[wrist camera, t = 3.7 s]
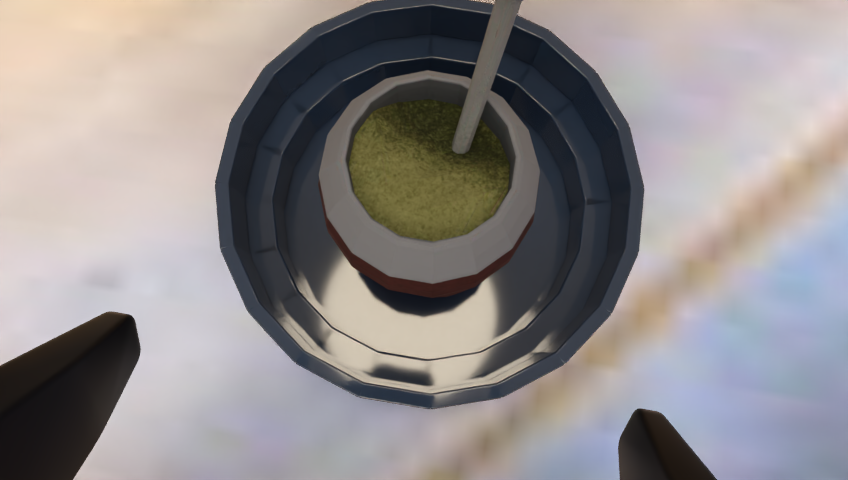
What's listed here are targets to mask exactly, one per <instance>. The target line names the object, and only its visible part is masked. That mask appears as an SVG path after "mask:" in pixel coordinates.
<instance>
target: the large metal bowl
mask: <svg viewBox="0 0 848 480" xmlns="http://www.w3.org/2000/svg"><path fill="white" fill-rule="evenodd" d="M493 6H494V4H491V3H484V2H478V1H472V0H380V1H372V2H370V3H369V2H368V3H366V4H364V5H361V6H359V7H357V8H354V9H352V10H350V11H347V12H345V13H343V14H340V15H338V16H336V17H334V18H331V19H329V20H327V21H324V22H322V23H320V24H317V25H315V26H313V28H310V29H309V30H308V31H307V32H305V33H304V34H303V35H302V36H301V37H299V38H298V39H297V40H296V41H295V42H294V43H292V44H291V45H290V46H289V47H288V48H286V49H285V50H284V51H283V52H282V53H281V54H279V55H278V56H277V57H276V58H275V59H273V60H272V61H271V62H270V63H269V64H268V65H266V66H265V68H264V69H263V70H262V72H261V73H260V75H259V76H258V78H257V80H256V81H255V83H254V84H253V86H252V88H251V89H250V91H249V92H248V94H247V95H246V97H245V99H244V100H243V102H242V103H241V105H240V107H239V108H238V110H237V111H236V113H235V114H234V116H233V118H232V119H231V122H230V125H229V129H228V133H227V137H226V141H225V145H224V149H223V153H222V157H221V161H220V165H219V169H218V173H217V177H216V181H215V183H216V184H215V192H216V205H217V217H218V229H219V241H220V249H221V252H222V255H223V257H224V259H225V262H226V264H227V266H228V268H229V271H230V273H231V275H232V277H233V280H234V282H235V284H236V287H237V289H238V291H239V293H240V296H241V298H242V300H243V303H244V305H245V307H246V309H247V311H248V312H249V314H250V315H251V316H252V317H253V318H254V319H255V320H256V321H257V323H258V324H259V325H260V326H261V327H262V328H263V329H264V330H265V331H266V332H267V333H268V334H269V335H270V337H271V338H272V339H273V340H274V341H275V342H276V343H277V344H278V345H279V346H280V347H281V348H282V350H283V351H284V352H285V353H286V354H287V355H288V356H289V357H290V358H291V359H292V360H293V361H294V362H296V364H297V365H299V366H301V367H303V368H305V369H307V370H309V371H310V372H312V373H314V374H316V375H318V376H320V377H322V378H323V379H325V380H327V381H329V382H331V383H333V384H335V385H336V386H338V387H340V388H342V389H344V390H346V391H348V392H349V393H351V394H353V395H355V396H357V397H360V398H365V399H371V400H377V401H383V402H389V403H395V404H401V405H407V406H413V407H418V408H424V409H430V408H431V409H437V408H443V407H449V406H455V405H461V404H468V403H474V402H480V401H486V400H492V399H498V398H501V397H505V396H507V395H508V394H510V393H512V392H514V391H516V390H518V389H520V388H522V387H523V386H525V385H527V384H529V383H531V382H533V381H535V380H537V379H538V378H540V377H542V376H544V375H546V374H548V373H550V372H552V371H553V370H555V369H557V368H559V367H561V366H563V365H564V364H565V363H567V361H568V360H569V359H570V358H571V357H572V356H573V355H574V354H575V353H576V352H577V351H578V350H579V349H580V348H581V346H582V345H583V344H584V343H585V342H586V341H587V340H588V339H589V338H590V337H591V336H592V335H593V334H594V332H595V331H596V330H597V329H598V328H599V327H600V326H601V325H602V324H603V323H604V322H605V321H606V320H607V319H608V317H609V316H610V315H611V313H612V312H613V310H614V308H615V305H616V303H617V301H618V298H619V296H620V294H621V292H622V289H623V287H624V285H625V283H626V280H627V278H628V276H629V274H630V271H631V269H632V267H633V265H634V262H635V260H636V258H637V256H638V252H639V244H640V232H641V221H642V209H643V197H644V185H643V181H642V176H641V172H640V168H639V164H638V160H637V156H636V151H635V147H634V143H633V139H632V135H631V131H630V127H629V125H628V123H627V121H626V119H625V118H624V116H623V115H622V113H621V111H620V110H619V108H618V106H617V105H616V103H615V101H614V100H613V98H612V96H611V95H610V93H609V92H608V90H607V88H606V87H605V85H604V83H603V82H602V80H601V78H600V77H599V75H598V74H597V73H596V71H595V70H594V69H593V68H592V67H590V66H589V65H588V64H587V63H586V62H585V61H584V60H583V59H581V58H580V57H579V56H578V55H577V54H576V53H575V52H574V51H572V50H571V49H570V48H569V47H568V46H567V45H566V44H565V43H563V42H562V41H561V40H560V39H559V38H558V37H557V36H555V35H554V34H553V33H552V32H551V31H549V30H548V29H546V28H544V27H541V26H539V25H537V24H535V23H533V22H531V21H529V20H526V19H524V18H522V17H520V16H518V15H516V18H515V21H514V24H513V27H512V30H511V32H510V35H509V38H508V41H507V44H506V47H505V49H504V52H503V55H502V58H501V61H500V64H499V67H498V69H497V72H496V75H495V78H494V81H493V84H492V86H491V89H490V90H491V91H492V92H494V93H496V94H497V95H499V96H501V97H503V98H504V100H505V101H506V102H507V103H508V105H509V106H510V107H511V108H512V110H513V111H514V112H515V114H516V115H517V116H518V117H519V119H520V120H521V121H522V122H523V124H524V125H525V126H526V128H527V129H528V130H529V133H530V137H531V141H532V144H533V148H534V151H535V155H536V158H537V162H538V166H539V169H540V175H539V184H538V192H537V199H536V206H535V213H534V221H533V223H532V225H531V227H530V228H529V230H528V232H527V233H526V235H525V237H524V238H523V240H522V241H521V243H520V245H519V246H518V248H517V250H516V251H515V253H514V255H513V256H512V258H511V259H510V261H509V262H508V263H507V264H506V265H504V266H503V267H502V268H500V269H499V270H497V271H496V272H495V273H493V274H492V275H491V276H489V277H488V278H487V279H485V280H484V281H482V282H481V283H480V284H478V285H477V286H476V287H474V288H471V289H468V290H465V291H463V292H460V293H457V294H455V295H452V296H448V297H436V298H430V297H424V296H419V295H414V294H408V293H403V292H397V291H392V290H388V289H386V288H385V287H383V286H382V285H380V284H378V283H377V282H375V281H374V280H372V279H371V278H369V277H367V276H366V275H364V274H363V273H361V272H360V271H358V270H356V269H355V268H353V267H352V266H351V265H350V263H349V262H348V260H347V259H346V257H345V256H344V254H343V253H342V252H341V250H340V249H339V247H338V246H337V244H336V243H335V241H334V240H333V238H332V237H331V236H330V234H329V233H328V230H327V227H326V222H325V217H324V212H323V207H322V202H321V197H320V192H319V187H318V182H319V171H320V167H321V162H322V157H323V153H324V148H325V144H326V139H327V135H328V133H329V132H330V130H331V129H332V128H333V126H334V125H335V123H336V122H337V121H338V119H339V118H340V116H341V115H342V114H343V112H344V111H345V109H346V108H347V107H348V105H349V104H350V102H351V101H352V100H353V99H355V98H356V97H358V96H360V95H361V94H363V93H364V92H366V91H367V90H369V89H371V88H372V87H374V86H375V85H377V84H378V83H380V82H382V81H383V80H385V79H386V78H391V77H396V76H401V75H406V74H411V73H416V72H421V71H426V70H429V71H435V72H440V73H446V74H452V75H458V76H464V77H468V78H470V79H472V77H473V73H474V70H475V67H476V63H477V60H478V57H479V53H480V50H481V47H482V43H483V40H484V37H485V33H486V30H487V27H488V23H489V20H490V17H491V13H492V10H493Z"/></svg>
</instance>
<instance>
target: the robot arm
mask: <svg viewBox="0 0 848 480" xmlns="http://www.w3.org/2000/svg"><path fill="white" fill-rule="evenodd" d="M139 356H140V343H139V338H138V333H137V328H136V323H135V320H134V318H133V317H132V316H131V315H128V314H123V313H118V312H106V313H104V314H102V315H100V316H98V317H96V318H94V319H92V320H90V321H88V322H86V323H84V324H82V325H80V326H78V327H76V328H74V329H72V330H70V331H68V332H66V333H64V334H62V335H60V336H58V337H56V338H54V339H52V340H50V341H48V342H46V343H44V344H42V345H40V346H38V347H36V348H34V349H32V350H30V351H28V352H26V353H24V354H22V355H20V356H18V357H16V358H14V359H12V360H10V361H8V362H6V363H4V364H2V365H1V366H0V480H73V479H74V477H75V475H76V474H77V472H78V471H79V469H80V468H81V466H82V464H83V463H84V461H85V460H86V458H87V457H88V455H89V454H90V452H91V450H92V449H93V447H94V445H95V444H96V442H97V440H98V439H99V437H100V435H101V433H102V432H103V430H104V428H105V426H106V424H107V422H108V420H109V418H110V416H111V414H112V412H113V410H114V408H115V406H116V404H117V402H118V400H119V398H120V396H121V394H122V392H123V390H124V388H125V386H126V384H127V382H128V380H129V378H130V376H131V374H132V372H133V370H134V368H135V366H136V364H137V362H138V359H139ZM618 454H619V471H620V480H717V479H716V478H715V477H714V475H713V474H712V473H711V472H710V471H709V469H708V468H707V467H706V466H705V465H704V463H703V462H702V461H701V460H700V459H699V457H698V456H697V455H696V454H695V452H694V451H693V450H692V449H691V448H690V446H689V445H688V444H687V443H686V442H685V440H684V439H683V438H682V437H681V436H680V434H679V433H678V432H677V431H676V429H675V428H674V427H673V426H672V425H671V423H670V422H669V421H668V420H667V419H666V417H665V416H664V415H663V414H661V413H660V412H657V411H652V410H646V409H637V410H635V411H634V412H633V414H632V416H631V418H630V420H629V421H628V423H627V425H626V427H625V429H624V431H623V433H622V434H621V437H620V440H619V446H618Z"/></svg>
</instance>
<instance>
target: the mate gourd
mask: <svg viewBox="0 0 848 480" xmlns="http://www.w3.org/2000/svg"><path fill="white" fill-rule="evenodd" d="M521 1H523V0H495V3H494V6H493V10H492V13H491V17H490V20H489V23H488V27H487V30H486V33H485V37H484V40H483V43H482V47H481V50H480V53H479V57H478V60H477V63H476V67H475V70H474V73H473V77H472V79H470V78H468V77H464V76H458V75H452V74H446V73H440V72H435V71H429V70H426V71H421V72H416V73H411V74H406V75H401V76H396V77H391V78H386V79H385V80H383V81H382V82H380V83H378V84H377V85H375V86H374V87H372V88H371V89H369V90H367V91H366V92H364V93H363V94H361V95H360V96H358V97H356V98H355V99H353V100H352V101H351V102H350V104H349V105H348V107H347V108H346V109H345V111H344V112H343V114H342V115H341V116H340V118H339V119H338V121H337V122H336V123H335V125H334V126H333V128H332V129H331V130H330V132H329V133H328V135H327V139H326V144H325V148H324V153H323V157H322V162H321V167H320V171H319V182H318V187H319V192H320V197H321V202H322V207H323V212H324V217H325V222H326V227H327V230H328V233H329V234H330V236H331V237H332V238H333V240H334V241H335V243H336V244H337V246H338V247H339V249H340V250H341V252H342V253H343V254H344V256H345V257H346V259H347V260H348V262H349V263H350V265H351V266H352V267H353V268H355V269H356V270H358V271H360V272H361V273H363V274H364V275H366V276H367V277H369V278H371V279H372V280H374V281H375V282H377V283H378V284H380V285H382V286H383V287H385V288H386V289H388V290H392V291H397V292H403V293H408V294H414V295H419V296H424V297H430V298H436V297H448V296H452V295H455V294H457V293H460V292H463V291H465V290H468V289H471V288H474V287H476V286H477V285H478V284H480V283H481V282H482V281H484V280H485V279H487V278H488V277H489V276H491V275H492V274H493V273H495V272H496V271H497V270H499V269H500V268H502V267H503V266H504V265H506V264H507V263H508V262H509V261H510V259H511V258H512V256H513V255H514V253H515V251H516V250H517V248H518V246H519V245H520V243H521V241H522V240H523V238H524V237H525V235H526V233H527V232H528V230H529V228H530V227H531V225H532V223H533V221H534V213H535V206H536V199H537V192H538V184H539V175H540V169H539V166H538V162H537V158H536V155H535V151H534V148H533V144H532V141H531V137H530V133H529V130H528V129H527V128H526V126H525V125H524V124H523V122H522V121H521V120H520V119H519V117H518V116H517V115H516V114H515V112H514V111H513V110H512V108H511V107H510V106H509V105H508V103H507V102H506V101H505V100H504V98H503V97H501V96H499V95H497V94H496V93H494V92H492V91H491V90H490V89H491V86H492V84H493V81H494V78H495V75H496V72H497V69H498V67H499V64H500V61H501V58H502V55H503V52H504V49H505V47H506V44H507V41H508V38H509V35H510V32H511V30H512V27H513V24H514V21H515V18H516V15H517V13H518V10H519V7H520V4H521Z"/></svg>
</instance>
